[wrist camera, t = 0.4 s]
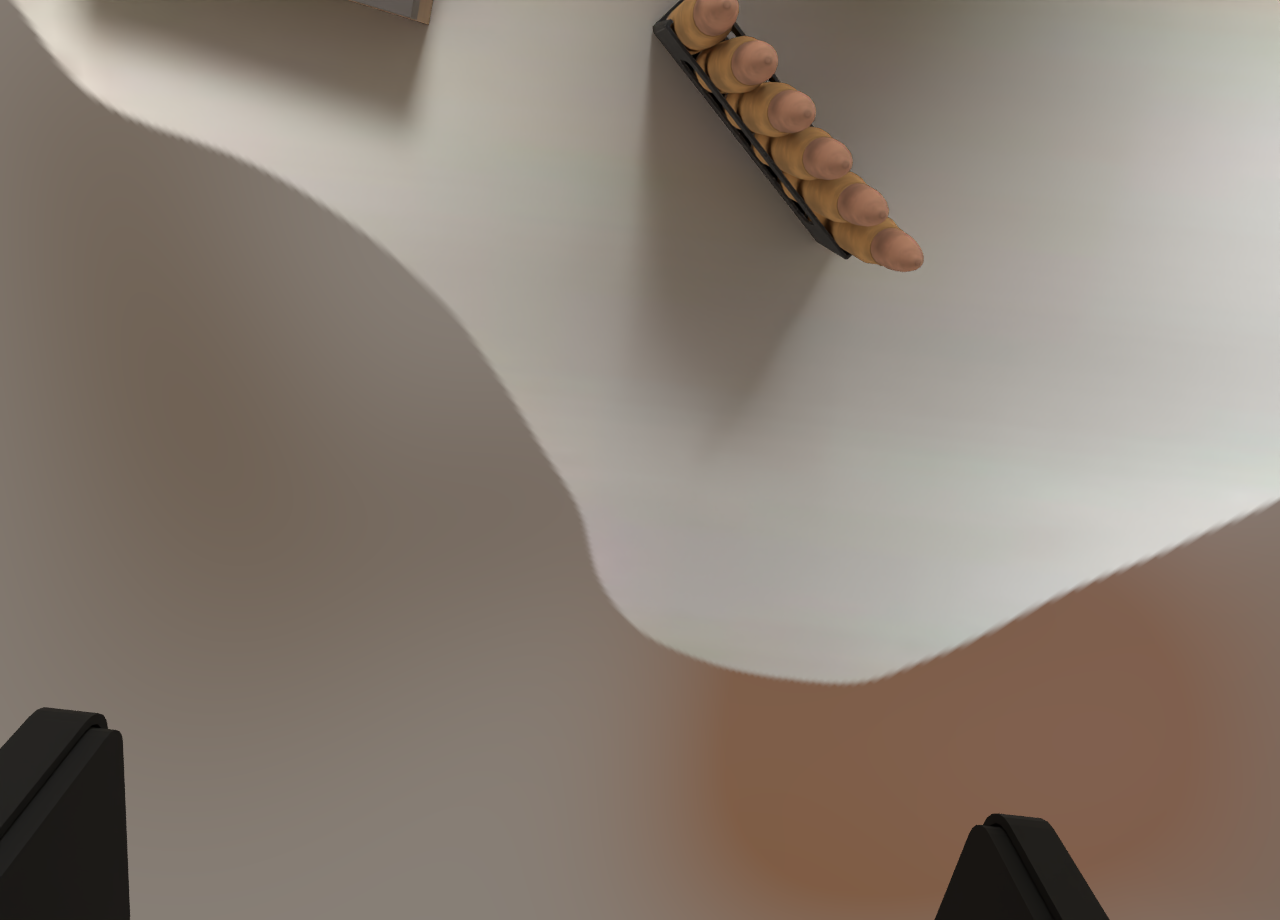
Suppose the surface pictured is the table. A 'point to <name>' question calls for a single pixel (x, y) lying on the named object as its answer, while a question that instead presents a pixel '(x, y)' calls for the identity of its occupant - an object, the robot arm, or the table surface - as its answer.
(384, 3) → the board
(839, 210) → the ammunition clip
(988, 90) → the table surface
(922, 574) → the table surface
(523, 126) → the table surface
